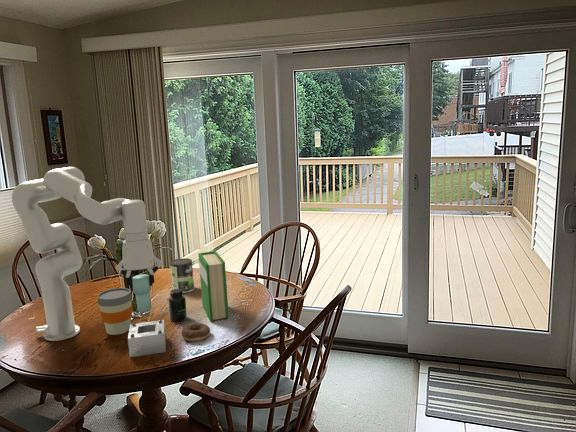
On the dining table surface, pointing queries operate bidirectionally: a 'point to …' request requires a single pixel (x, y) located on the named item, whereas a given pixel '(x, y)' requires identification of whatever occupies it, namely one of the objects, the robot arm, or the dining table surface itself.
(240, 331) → the dining table surface
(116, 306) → the reusable coffee cup
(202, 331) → the donut
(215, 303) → the hardback book
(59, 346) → the dining table surface
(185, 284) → the coffee can
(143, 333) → the housing
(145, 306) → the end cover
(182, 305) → the supplement bottle
